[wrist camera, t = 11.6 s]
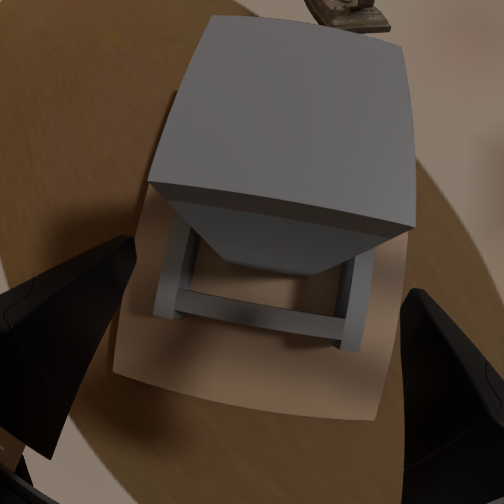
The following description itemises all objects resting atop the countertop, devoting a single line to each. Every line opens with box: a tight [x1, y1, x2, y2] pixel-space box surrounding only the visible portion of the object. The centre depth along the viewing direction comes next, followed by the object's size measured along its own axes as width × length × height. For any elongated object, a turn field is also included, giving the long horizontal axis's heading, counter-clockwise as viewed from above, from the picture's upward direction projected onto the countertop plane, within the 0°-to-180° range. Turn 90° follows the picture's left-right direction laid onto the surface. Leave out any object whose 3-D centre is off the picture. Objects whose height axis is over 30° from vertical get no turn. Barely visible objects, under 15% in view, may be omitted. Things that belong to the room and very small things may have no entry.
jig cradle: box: [113, 183, 408, 420], centre depth 16 cm, size 20×16×4 cm
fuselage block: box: [147, 15, 416, 278], centre depth 11 cm, size 4×4×12 cm
